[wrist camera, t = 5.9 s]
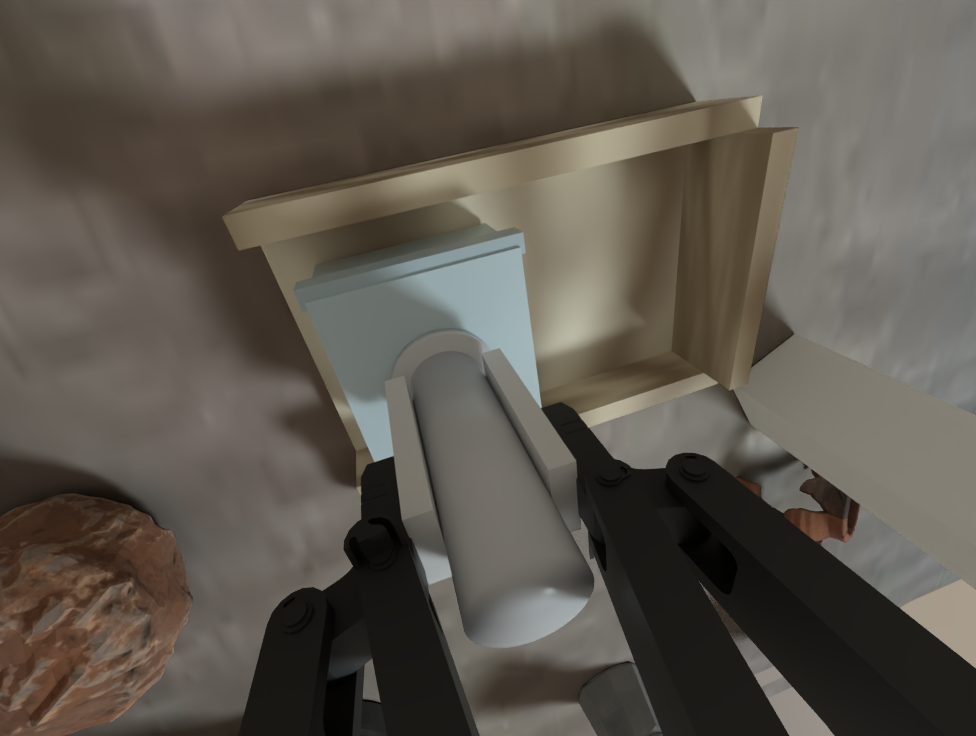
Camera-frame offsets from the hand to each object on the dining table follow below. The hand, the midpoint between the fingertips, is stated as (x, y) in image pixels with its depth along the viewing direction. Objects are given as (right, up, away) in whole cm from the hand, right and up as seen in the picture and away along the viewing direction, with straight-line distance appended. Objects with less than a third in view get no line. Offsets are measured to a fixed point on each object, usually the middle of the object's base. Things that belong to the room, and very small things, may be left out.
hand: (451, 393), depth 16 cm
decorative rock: (-21, -9, +8) cm, 25 cm away
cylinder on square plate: (-2, +3, +5) cm, 6 cm away
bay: (+3, +4, +8) cm, 9 cm away
